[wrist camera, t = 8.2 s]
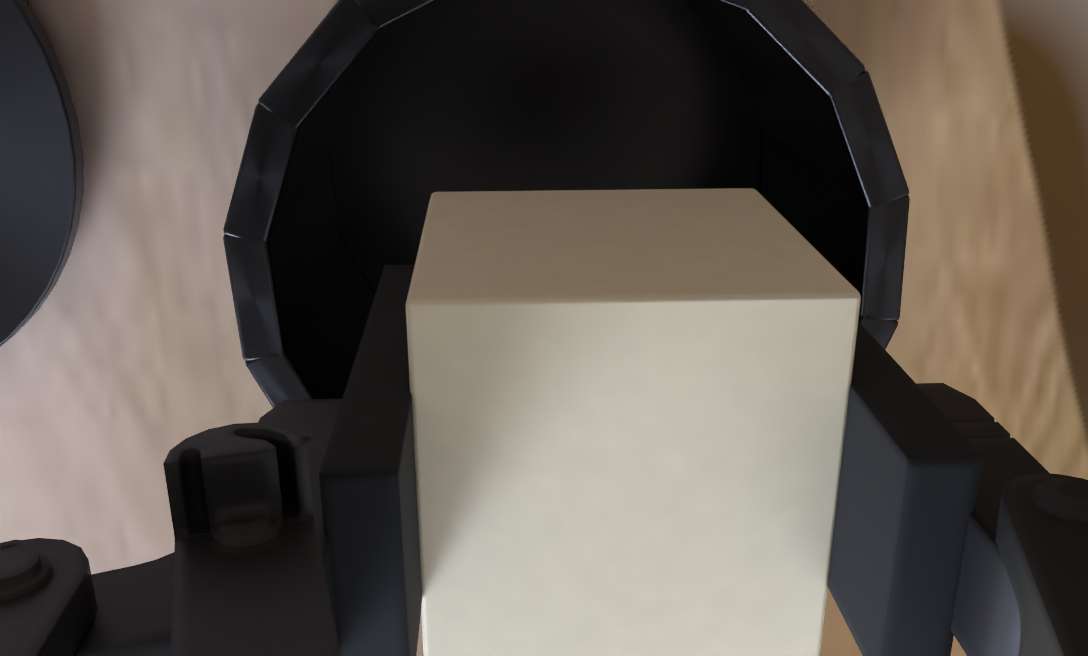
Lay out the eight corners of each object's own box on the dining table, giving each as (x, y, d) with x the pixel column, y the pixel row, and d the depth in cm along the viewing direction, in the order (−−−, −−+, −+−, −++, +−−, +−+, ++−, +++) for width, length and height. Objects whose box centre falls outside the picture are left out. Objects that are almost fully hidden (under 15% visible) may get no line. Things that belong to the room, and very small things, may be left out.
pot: (210, 60, 26) (88, 120, 18) (677, -178, 24) (768, -225, 16) (443, 462, 30) (427, 653, 22) (850, 280, 29) (987, 416, 21)
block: (442, 480, 18) (424, 678, 13) (430, 190, 16) (405, 300, 11) (734, 473, 18) (820, 666, 13) (756, 187, 16) (864, 293, 11)
